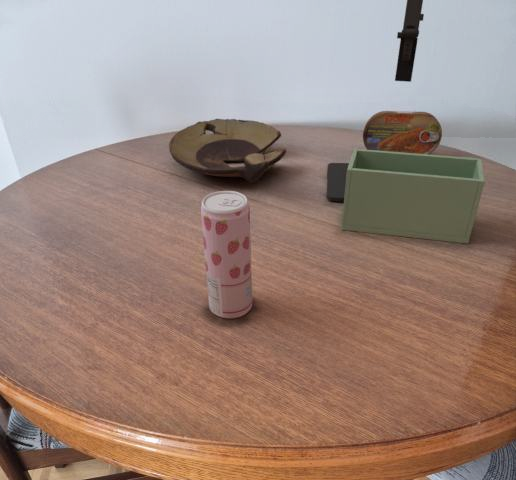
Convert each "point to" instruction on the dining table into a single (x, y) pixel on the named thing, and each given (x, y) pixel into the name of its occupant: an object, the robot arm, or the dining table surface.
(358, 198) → the waste bin
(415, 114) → the tin
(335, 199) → the phone
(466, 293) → the dining table surface
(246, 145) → the broken brown bowl
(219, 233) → the beverage can
